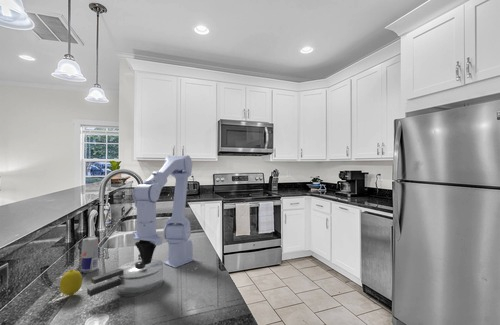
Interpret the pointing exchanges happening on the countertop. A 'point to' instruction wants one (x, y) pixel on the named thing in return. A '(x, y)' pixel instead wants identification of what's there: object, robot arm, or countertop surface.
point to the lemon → (70, 282)
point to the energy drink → (89, 254)
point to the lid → (131, 271)
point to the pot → (130, 285)
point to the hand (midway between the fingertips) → (146, 263)
